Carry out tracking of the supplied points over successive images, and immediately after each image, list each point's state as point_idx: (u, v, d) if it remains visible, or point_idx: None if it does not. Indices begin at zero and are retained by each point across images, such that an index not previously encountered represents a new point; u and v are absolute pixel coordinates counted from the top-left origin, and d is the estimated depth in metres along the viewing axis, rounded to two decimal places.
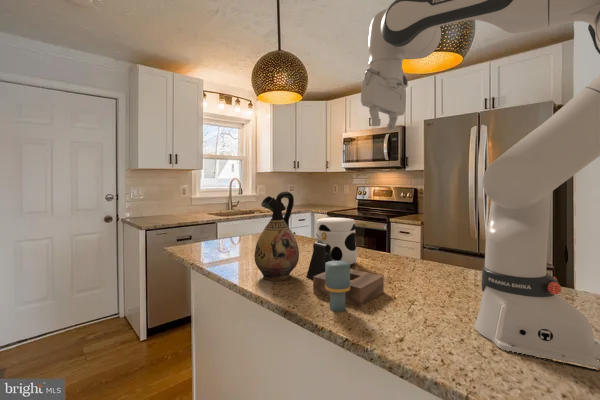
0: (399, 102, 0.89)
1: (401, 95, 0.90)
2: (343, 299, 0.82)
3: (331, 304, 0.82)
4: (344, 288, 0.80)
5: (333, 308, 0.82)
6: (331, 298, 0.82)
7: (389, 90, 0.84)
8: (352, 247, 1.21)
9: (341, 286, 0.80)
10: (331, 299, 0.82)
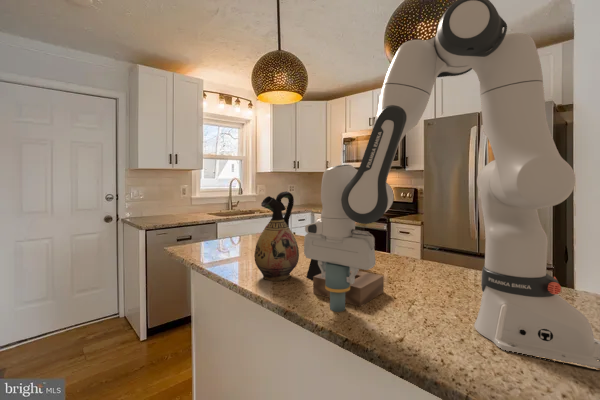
0: None
1: None
2: (343, 299, 0.82)
3: (331, 304, 0.82)
4: (344, 288, 0.80)
5: (333, 308, 0.82)
6: (331, 298, 0.82)
7: None
8: None
9: (341, 286, 0.80)
10: (331, 299, 0.82)
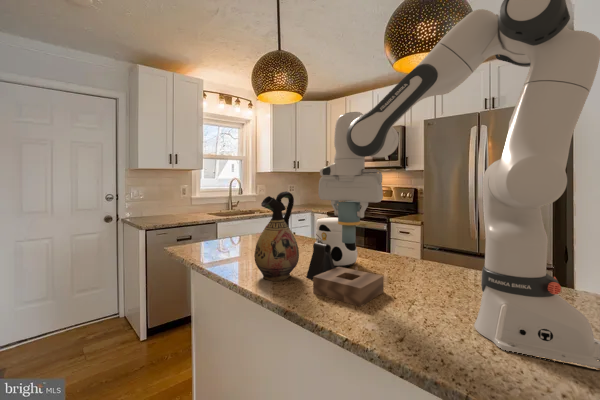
0: None
1: None
2: (353, 232, 0.92)
3: (343, 237, 0.93)
4: (355, 221, 0.91)
5: (345, 240, 0.93)
6: (343, 232, 0.93)
7: None
8: (352, 247, 1.21)
9: (352, 220, 0.91)
10: (343, 233, 0.93)
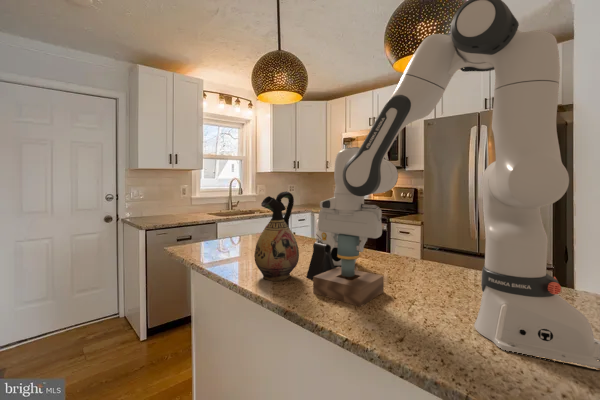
0: None
1: None
2: (353, 265, 0.93)
3: (342, 270, 0.94)
4: (354, 256, 0.92)
5: (344, 274, 0.93)
6: (342, 265, 0.94)
7: None
8: None
9: (351, 254, 0.91)
10: (342, 266, 0.94)
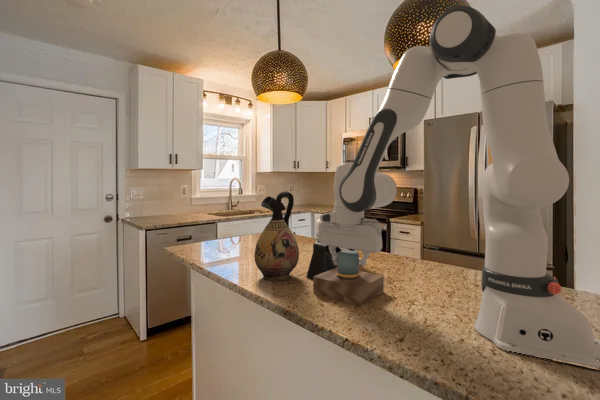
0: None
1: None
2: None
3: None
4: (354, 274, 0.92)
5: None
6: None
7: None
8: None
9: (351, 272, 0.92)
10: None
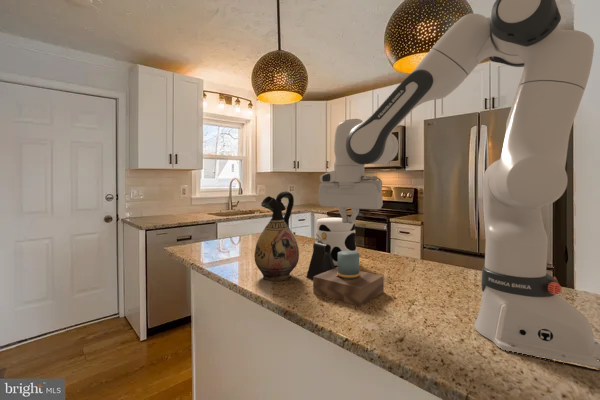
0: None
1: None
2: None
3: None
4: (354, 274, 0.92)
5: None
6: None
7: None
8: (352, 247, 1.21)
9: (352, 272, 0.92)
10: None
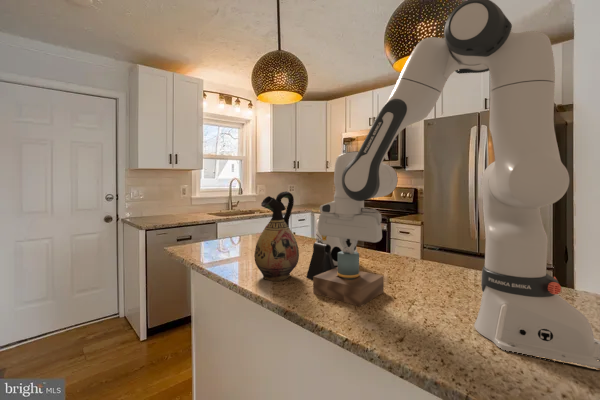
0: None
1: None
2: None
3: None
4: (354, 274, 0.92)
5: None
6: None
7: None
8: None
9: (352, 272, 0.92)
10: None
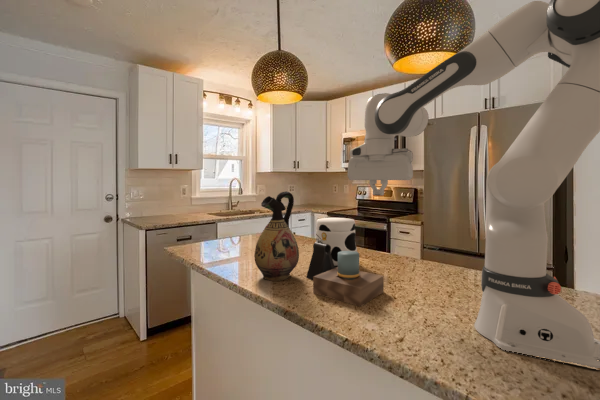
0: None
1: None
2: None
3: None
4: (354, 274, 0.92)
5: None
6: None
7: None
8: (352, 247, 1.21)
9: (352, 272, 0.92)
10: None
